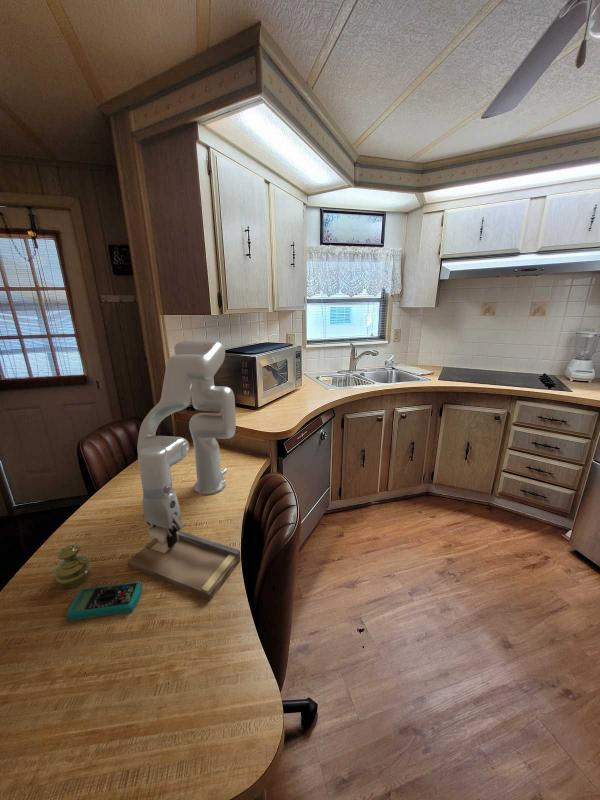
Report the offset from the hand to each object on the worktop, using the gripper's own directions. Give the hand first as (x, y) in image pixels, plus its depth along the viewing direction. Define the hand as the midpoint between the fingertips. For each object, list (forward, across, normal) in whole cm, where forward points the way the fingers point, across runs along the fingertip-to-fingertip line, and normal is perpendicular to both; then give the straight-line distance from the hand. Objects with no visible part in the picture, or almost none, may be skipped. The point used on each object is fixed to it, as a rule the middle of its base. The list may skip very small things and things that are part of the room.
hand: (165, 541), depth 92 cm
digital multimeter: (+4, 0, +19) cm, 20 cm away
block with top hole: (+1, 0, +2) cm, 2 cm away
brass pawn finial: (+3, +15, +17) cm, 23 cm away
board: (+3, -9, +2) cm, 10 cm away
